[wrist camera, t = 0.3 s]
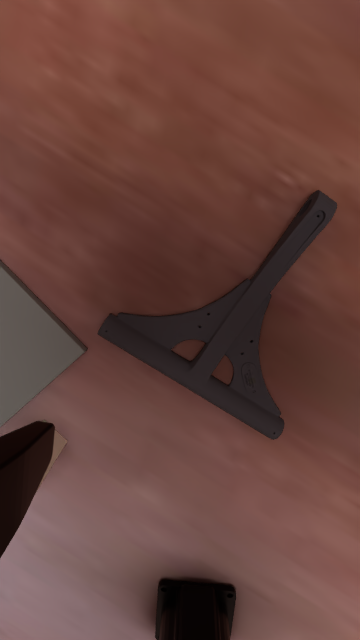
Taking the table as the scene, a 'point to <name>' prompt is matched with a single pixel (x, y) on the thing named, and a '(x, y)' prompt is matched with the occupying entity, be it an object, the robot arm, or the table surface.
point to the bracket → (225, 330)
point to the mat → (29, 345)
